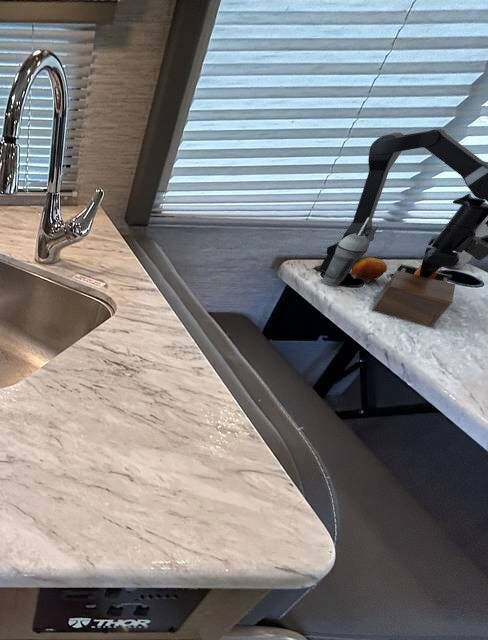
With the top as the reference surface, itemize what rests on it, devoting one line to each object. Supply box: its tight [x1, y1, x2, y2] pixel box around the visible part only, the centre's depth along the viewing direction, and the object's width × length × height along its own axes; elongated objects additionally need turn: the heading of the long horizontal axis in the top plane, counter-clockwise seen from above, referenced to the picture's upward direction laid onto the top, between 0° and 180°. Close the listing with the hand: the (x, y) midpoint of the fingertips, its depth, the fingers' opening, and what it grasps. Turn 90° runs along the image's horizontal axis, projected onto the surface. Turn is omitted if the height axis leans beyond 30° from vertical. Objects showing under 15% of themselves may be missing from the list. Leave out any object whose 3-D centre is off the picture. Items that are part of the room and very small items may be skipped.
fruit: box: [350, 256, 388, 284], centre depth 123 cm, size 8×8×8 cm
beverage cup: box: [321, 218, 370, 287], centre depth 117 cm, size 7×7×20 cm
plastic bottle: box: [451, 216, 488, 269], centre depth 124 cm, size 6×7×20 cm
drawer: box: [396, 263, 453, 282], centre depth 114 cm, size 17×11×6 cm
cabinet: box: [372, 270, 456, 328], centre depth 108 cm, size 14×13×8 cm
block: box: [414, 264, 440, 279], centre depth 112 cm, size 4×4×4 cm
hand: (421, 278), depth 112 cm, fingers closed on block, 4 cm apart
